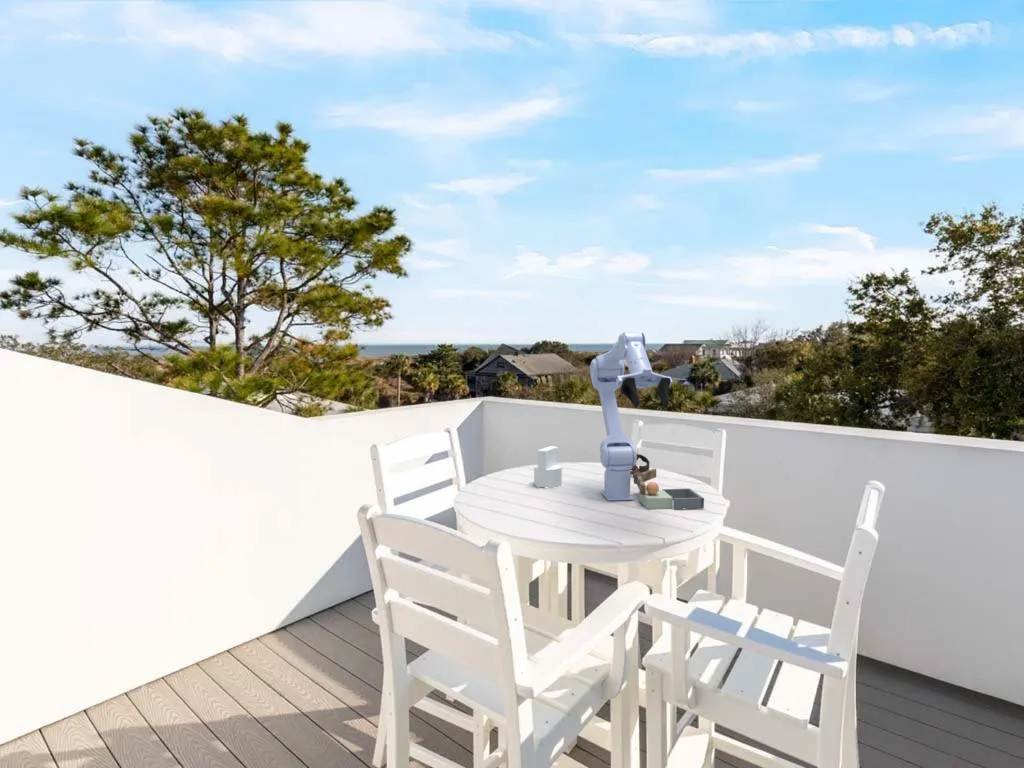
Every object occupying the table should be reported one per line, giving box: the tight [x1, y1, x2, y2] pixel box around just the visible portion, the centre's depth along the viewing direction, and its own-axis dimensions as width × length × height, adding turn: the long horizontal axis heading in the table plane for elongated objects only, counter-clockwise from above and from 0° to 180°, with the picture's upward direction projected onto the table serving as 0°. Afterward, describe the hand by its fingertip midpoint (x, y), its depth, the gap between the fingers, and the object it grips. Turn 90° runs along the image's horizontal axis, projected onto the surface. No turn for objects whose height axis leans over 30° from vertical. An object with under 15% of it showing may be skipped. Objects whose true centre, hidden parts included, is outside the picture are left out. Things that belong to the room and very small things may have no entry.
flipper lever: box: [633, 468, 657, 495], centre depth 180 cm, size 23×6×3 cm, turn 159°
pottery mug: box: [630, 453, 650, 477], centre depth 208 cm, size 12×10×8 cm
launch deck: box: [638, 489, 673, 510], centre depth 171 cm, size 8×7×3 cm
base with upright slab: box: [533, 445, 563, 489], centre depth 194 cm, size 9×9×12 cm
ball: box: [646, 481, 660, 495], centre depth 171 cm, size 4×4×4 cm
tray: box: [661, 487, 705, 510], centre depth 172 cm, size 11×8×3 cm
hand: (652, 405), depth 149 cm, fingers open, 7 cm apart
